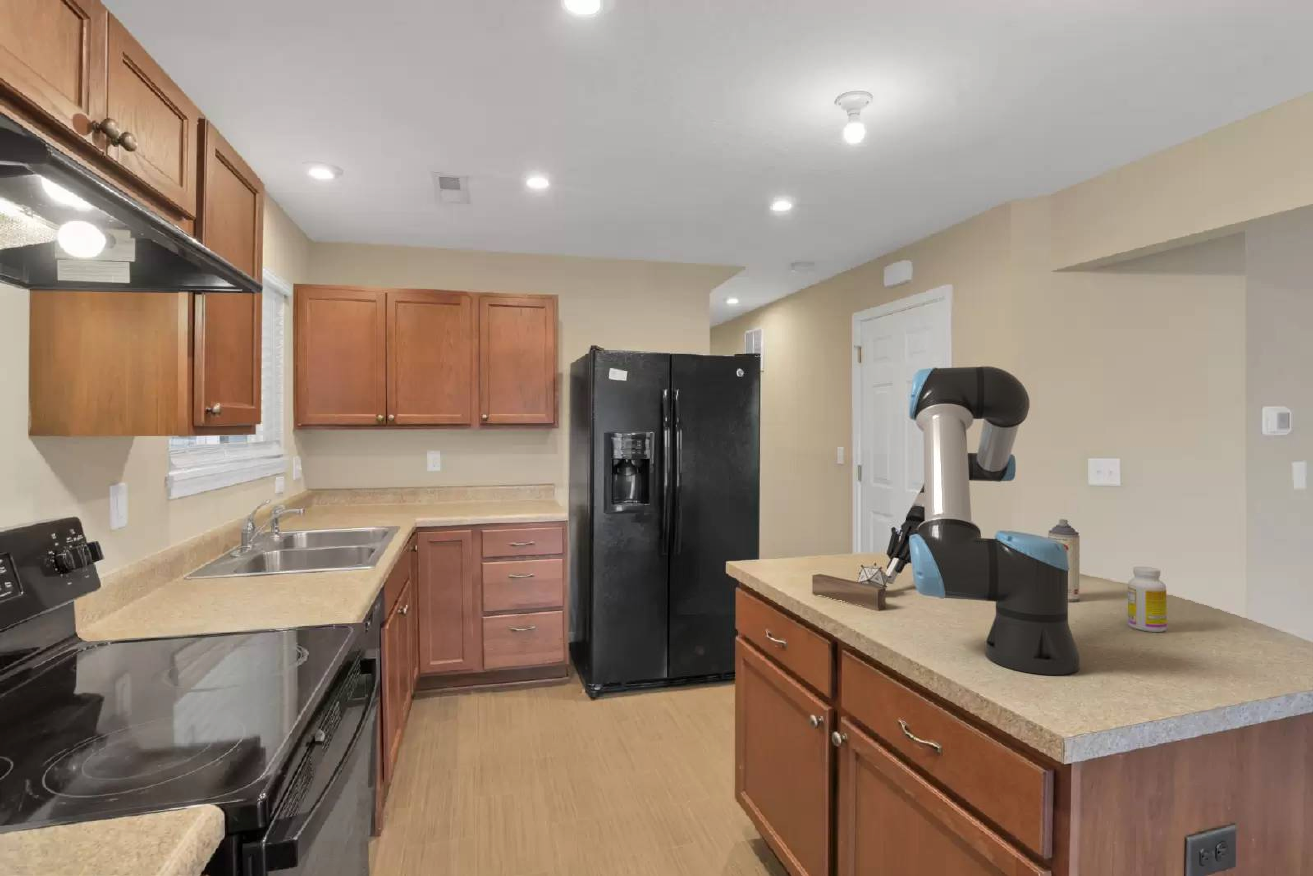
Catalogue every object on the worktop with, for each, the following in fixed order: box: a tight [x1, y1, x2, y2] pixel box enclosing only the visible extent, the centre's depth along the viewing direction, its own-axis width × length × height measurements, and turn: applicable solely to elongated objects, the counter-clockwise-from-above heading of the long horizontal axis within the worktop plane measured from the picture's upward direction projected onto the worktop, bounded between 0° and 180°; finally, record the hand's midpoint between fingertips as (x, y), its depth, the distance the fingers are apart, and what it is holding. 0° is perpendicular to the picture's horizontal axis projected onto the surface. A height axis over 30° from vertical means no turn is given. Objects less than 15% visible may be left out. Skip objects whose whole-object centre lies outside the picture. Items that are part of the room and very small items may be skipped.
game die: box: [856, 562, 892, 589], centre depth 173 cm, size 9×8×10 cm
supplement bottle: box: [1127, 566, 1168, 633], centre depth 143 cm, size 7×7×13 cm
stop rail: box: [811, 573, 887, 611], centre depth 167 cm, size 3×20×5 cm, turn 36°
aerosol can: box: [1047, 518, 1081, 603], centre depth 168 cm, size 7×7×20 cm
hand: (888, 580), depth 177 cm, fingers closed
